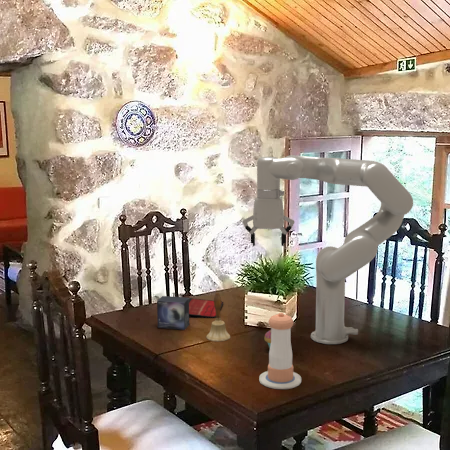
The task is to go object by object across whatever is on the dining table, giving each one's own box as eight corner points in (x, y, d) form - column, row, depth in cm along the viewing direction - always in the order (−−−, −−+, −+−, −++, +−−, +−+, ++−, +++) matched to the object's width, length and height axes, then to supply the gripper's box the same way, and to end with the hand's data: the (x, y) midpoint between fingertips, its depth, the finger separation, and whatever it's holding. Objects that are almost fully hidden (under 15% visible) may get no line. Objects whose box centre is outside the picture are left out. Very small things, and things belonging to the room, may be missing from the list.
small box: (156, 328, 228) (155, 300, 226) (162, 322, 234) (161, 295, 233) (184, 330, 226) (184, 302, 224) (190, 324, 232) (189, 297, 230)
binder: (175, 312, 241) (185, 297, 261) (175, 318, 241) (185, 302, 262) (216, 315, 239) (224, 300, 259) (216, 321, 239) (224, 305, 260)
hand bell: (227, 342, 214) (227, 296, 211) (203, 340, 215) (203, 295, 213) (232, 334, 222) (232, 289, 219) (209, 332, 223) (208, 288, 221)
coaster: (299, 372, 187) (299, 369, 187) (302, 389, 176) (302, 386, 175) (259, 372, 188) (259, 369, 188) (259, 388, 176) (259, 385, 176)
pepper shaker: (273, 383, 177) (273, 317, 174) (264, 373, 184) (264, 310, 181) (297, 380, 179) (298, 315, 176) (287, 371, 186) (288, 308, 183)
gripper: (294, 193, 213) (293, 243, 215) (242, 193, 214) (242, 243, 216) (295, 195, 205) (294, 247, 208) (241, 195, 206) (242, 247, 209)
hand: (268, 245), depth 212 cm, fingers open, 9 cm apart
